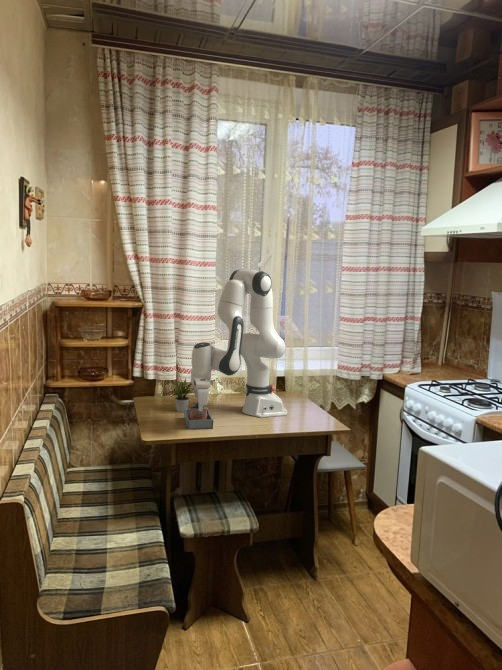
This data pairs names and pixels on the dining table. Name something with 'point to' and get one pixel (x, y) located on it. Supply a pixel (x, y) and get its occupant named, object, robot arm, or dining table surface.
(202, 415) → the red grey packet
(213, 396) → the dining table surface
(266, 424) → the dining table surface
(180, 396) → the house plant
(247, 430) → the dining table surface
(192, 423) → the cell holder
